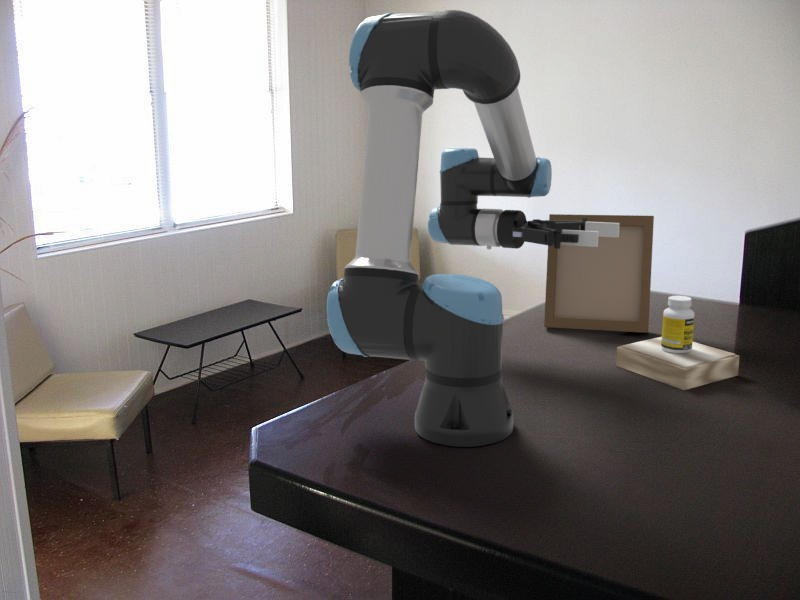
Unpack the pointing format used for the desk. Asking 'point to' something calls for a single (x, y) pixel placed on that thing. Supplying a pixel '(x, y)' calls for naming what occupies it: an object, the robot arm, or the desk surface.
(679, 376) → the pedestal
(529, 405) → the desk surface
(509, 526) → the desk surface
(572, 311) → the photo frame
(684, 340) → the supplement bottle
